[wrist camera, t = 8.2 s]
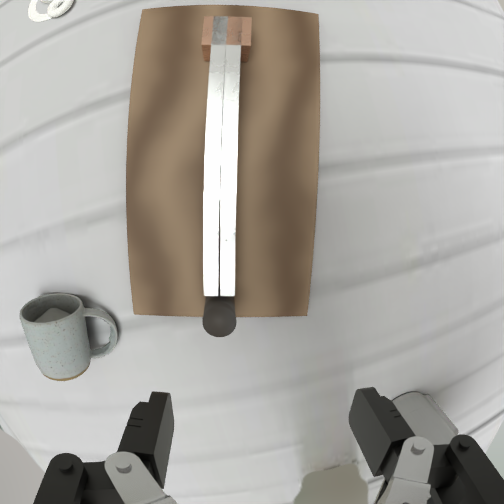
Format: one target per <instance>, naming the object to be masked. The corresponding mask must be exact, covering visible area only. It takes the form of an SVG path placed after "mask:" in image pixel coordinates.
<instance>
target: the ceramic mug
mask: <svg viewBox="0 0 504 504" xmlns="http://www.w3.org/2000/svg"><path fill="white" fill-rule="evenodd" d="M86 316H91V317H96V318H100V319H103V320H104V321H106V322H107V323H108V324H109V325H110V326H111V335H110V337H109V340H110V343H109V344H108V345H106V346H105V347H102V348H100V349H95V350H90V345H89V339H88V335H87V328H86V321H85V317H86ZM20 320H21V323H22V326H23V329H24V332H25V335H26V338H27V341H28V344H29V346H30V349H31V352H32V355H33V357H34V360H35V362H36V365H37V366H38V368H39V369H40V371H41V372H42V373H43V375H44V376H46V377H48V378H49V379H52V380H57V381H67V380H72V379H74V378H77V377H78V376H80V375H82V374H83V373H84V372H85V371H86V370H87V369H88V367H89V365H90V360H91V358H100V357H103V356H105V355H107V354H109V353H110V352H111V351H112V350H113V349H114V348H115V346H116V344H117V338H118V334H117V328H116V324H115V322H114V320H113V318H112V317H111V316H110V315H108V314H107V313H106V312H104V311H101V310H98V309H92V308H84V307H83V303H82V301H81V299H80V298H78V297H77V296H74V295H71V294H66V293H53V294H47V295H43V296H39V297H37V298H35V299H33V300H31V301H29V302H28V303H27V304H25V305H24V306H23V308H22V309H21V311H20Z"/></svg>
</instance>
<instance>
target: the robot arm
mask: <svg viewBox="0 0 504 504" xmlns="http://www.w3.org/2000/svg"><path fill="white" fill-rule="evenodd" d="M349 424H350V427H351V429H352V431H353V434H354V436H355V438H356V440H357V442H358V444H359V446H360V448H361V451H362V453H363V455H364V457H365V459H366V461H367V463H368V465H369V468H370V470H371V472H372V474H373V476H374V477H376V476H380V475H384V477H385V479H384V481H383V483H382V485H381V488H380V490H379V492H378V495H377V497H376V500H375V502H374V504H504V480H503V478H502V477H501V476H500V474H499V473H498V471H497V470H496V468H495V467H494V466H493V464H492V463H491V461H490V460H489V459H488V457H487V456H486V454H485V453H484V452H483V450H482V449H481V448H480V446H479V445H478V444H477V442H476V441H475V440H474V439H473V438H472V437H470V436H468V435H458V429H457V428H456V426H455V425H454V424H453V423H452V422H451V420H450V419H449V418H448V417H447V416H446V414H445V413H444V412H443V411H442V410H441V408H440V407H439V406H438V405H437V404H436V403H435V401H434V400H433V399H432V398H431V397H430V395H423V394H421V393H419V392H410V393H407V394H404V395H401V396H400V397H398V398H396V399H394V400H393V401H391V400H389V399H388V398H386V397H385V396H381V397H380V395H379V394H378V392H377V391H376V389H375V388H374V387H369V388H362V389H357V390H356V392H355V396H354V399H353V403H352V406H351V410H350V413H349ZM173 432H174V416H173V409H172V402H171V395H170V393H164V392H152V393H151V396H150V399H149V402H139V403H138V404H137V405H136V406H135V407H134V408H133V409H132V412H131V414H130V417H129V420H128V422H127V426H126V428H125V431H124V434H123V436H122V439H121V442H120V445H119V448H118V450H117V452H116V453H114V454H112V455H110V456H109V457H108V458H107V459H106V461H102V462H85V463H83V462H82V461H81V459H80V458H79V457H77V456H76V455H74V454H70V453H62V454H59V455H56V456H55V457H54V458H52V460H51V461H50V463H49V466H48V468H47V470H46V473H45V475H44V478H43V480H42V483H41V485H40V488H39V490H38V493H37V495H36V498H35V500H34V503H33V504H177V503H176V501H175V500H174V499H173V498H172V497H171V496H167V495H166V494H165V493H164V492H163V490H162V489H164V484H165V478H166V472H167V466H168V460H169V454H170V449H171V443H172V437H173Z"/></svg>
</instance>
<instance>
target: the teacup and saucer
mask: <svg viewBox="0 0 504 504" xmlns="http://www.w3.org/2000/svg"><path fill="white" fill-rule="evenodd" d="M40 1H42V2H44V3H50V5H49V7H48V9H47V14H39V13H38V12H37V11H36V3H37V0H31V2H30V5H29V8H28V15H29V17H30V19H31V20H33V21H35V22H42V21H46V20H48V19H51V18H53V17H58V16H60V15H62V14H64V13H65V12H66V11H67V10H68V9H69V8H70V7H71V5H72V4H73V1H74V0H40ZM63 2H64V3H63ZM61 3H63V4H62V5H61V6H60V7H58V6H59V5H60V4H61ZM57 7H58V8H57Z"/></svg>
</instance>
